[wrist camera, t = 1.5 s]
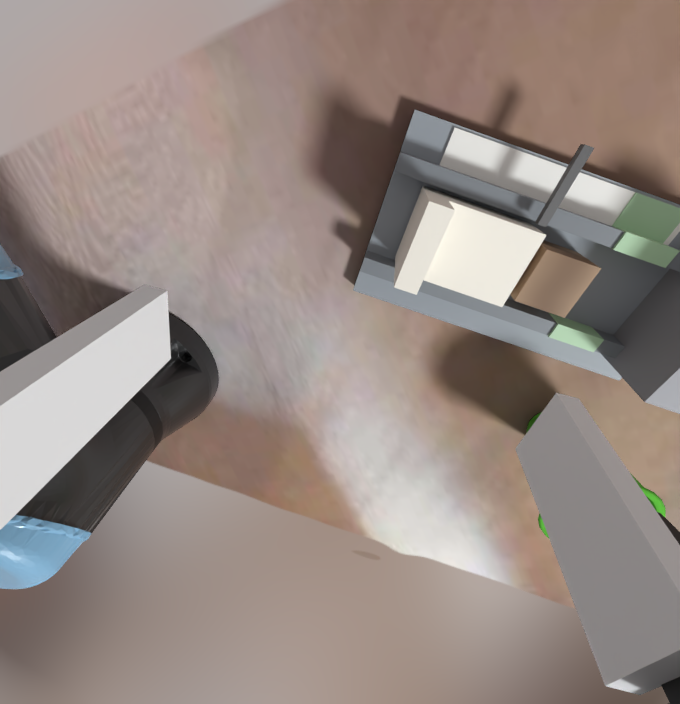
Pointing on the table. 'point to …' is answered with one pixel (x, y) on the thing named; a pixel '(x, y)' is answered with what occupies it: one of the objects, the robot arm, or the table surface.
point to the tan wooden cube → (554, 279)
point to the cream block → (473, 242)
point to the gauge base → (563, 229)
